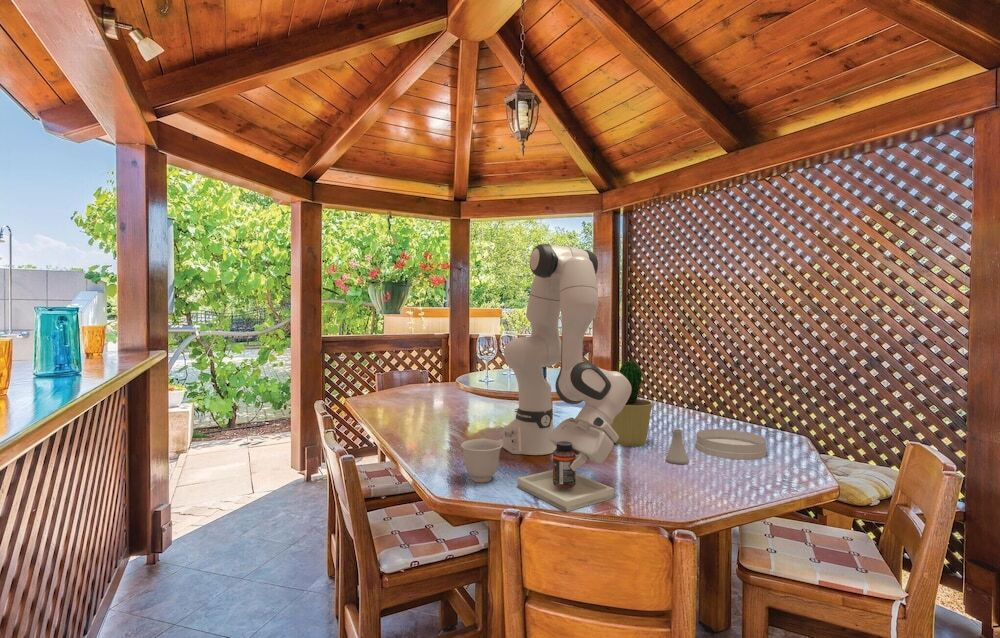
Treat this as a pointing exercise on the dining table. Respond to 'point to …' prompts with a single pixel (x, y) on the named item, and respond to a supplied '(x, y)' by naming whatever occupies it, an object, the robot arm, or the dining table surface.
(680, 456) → the flask
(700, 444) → the dish
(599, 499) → the tray
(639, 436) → the potted cactus
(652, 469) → the dining table surface
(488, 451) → the teacup
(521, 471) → the dining table surface
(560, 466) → the supplement bottle
